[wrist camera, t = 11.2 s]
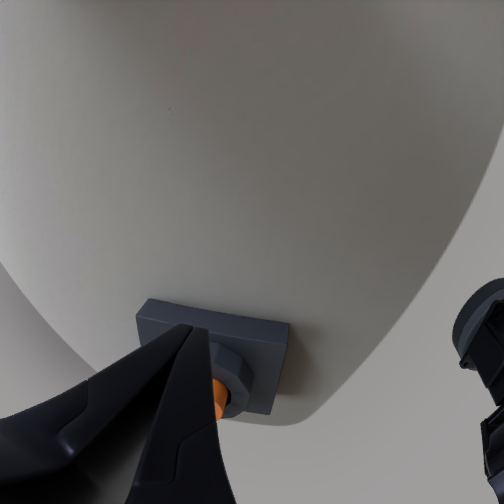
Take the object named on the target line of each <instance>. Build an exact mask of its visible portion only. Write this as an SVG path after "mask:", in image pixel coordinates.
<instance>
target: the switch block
mask: <svg viewBox="0 0 504 504" xmlns="http://www.w3.org/2000/svg"><path fill="white" fill-rule="evenodd" d="M136 322H137V328H138V334H139V339H140V344H141V346H143V345H144V344H146V343H148V342H149V341H151V340H153V339H154V338H156V337H157V336H159V335H161V334H162V333H164V332H165V331H167V330H169V329H170V328H172V327H173V326H175V325H177V324H178V323H186V324H190V325H193V326H194V327H195V326H200V327H204V328H208V329H209V338H210V353H211V366H212V377H214V378H216V379H218V380H219V381H221V382H223V384H224V385H225V386H226V388H227V391H228V397H227V400H226V404H225V408H224V412H223V415H222V417H221V418H220V419H222V418H232V417H235V416H237V415H238V414H240V413H241V412H243V411H246V412H252V413H259V414H266V415H270V413H271V409H272V405H273V402H274V398H275V394H276V390H277V386H278V382H279V378H280V374H281V370H282V366H283V362H284V358H285V354H286V350H287V345H288V331H289V324H288V323H281V322H274V321H268V320H261V319H255V318H248V317H242V316H236V315H230V314H225V313H219V312H213V311H208V310H203V309H197V308H192V307H187V306H182V305H177V304H172V303H167V302H163V301H158V300H153V299H148V300H147V301H146V302H145V304H144V305H143V306H142V308H141V309H140V310H139V312H138V313H137V314H136Z"/></svg>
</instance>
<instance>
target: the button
mask: <svg viewBox="0 0 504 504" xmlns="http://www.w3.org/2000/svg"><path fill="white" fill-rule="evenodd" d="M212 379H213V390H214V401H215V412H216V421H217V420H219V419H220V418H221V417H222V415H223V412H224V408H225V404H226V400H227V397H228V391H227V388H226V386H225V385H224V384H223V382H221V381H219V380H218V379H216V378H214V377H212Z"/></svg>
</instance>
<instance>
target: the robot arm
mask: <svg viewBox="0 0 504 504" xmlns="http://www.w3.org/2000/svg"><path fill="white" fill-rule="evenodd" d="M459 365H460V367H461V368H463V369H467V368H476V369H477V371H478V373H479V375H480V377H481V379H482V381H483V383H484V385H485V387H486V388H488V390H489V391H490V394H491V396H492V398H493V400H494V402H495V405H496V406H500V407H499V408H498V409H497V410H496V411H495V412H494V413H493V414H491V415H490V416H489V417H488V418H487V419H485V420H484V421H482V422H481V433H482V443H483V455H484V469H485V474H486V476H487V478H488V479H487V480H488V482H489V484H490V485H491V487H492V488H493V489H494V491H495V494H496V496H497V498H498V502H499V504H504V300H499V299H497V300H494V301H493V302H492V304H491V306H490V308H489V310H488V312H487V314H486V316H485V318H484V320H483V322H482V324H481V326H480V327H479V329H478V331H477V333H476V335H475V337H474V338H473V340H472V342H471V344H470V346H469V347H468V349H467V351H466V352H465V354H464V356H463V357H462V359H461V361H460V362H459ZM0 504H236V501H235V498H234V495H233V492H232V489H231V486H230V483H229V480H228V477H227V474H226V470H225V466H224V463H223V459H222V455H221V450H220V444H219V438H218V430H217V423H216V412H215V401H214V390H213V379H212V366H211V353H210V338H209V329H208V328H204V327H200V326H195V327H194V326H193V325H190V324H186V323H178V324H177V325H175V326H173V327H172V328H170V329H169V330H167V331H165V332H164V333H162V334H161V335H159V336H157V337H156V338H154V339H153V340H151V341H149V342H148V343H146V344H144V345H143V346H141V347H140V348H138V349H136V350H135V351H133V352H131V353H130V354H128V355H126V356H125V357H123V358H121V359H120V360H118V361H117V362H115V363H113V364H112V365H110V366H108V367H107V368H105V369H103V370H102V371H100V372H98V373H97V374H95V375H93V376H92V377H90V378H88V381H87V380H85V381H83V382H81V383H80V384H78V385H76V386H75V387H73V388H71V389H69V390H67V391H66V392H64V393H62V394H60V395H58V396H56V397H53V398H51V399H49V400H47V401H45V402H43V403H40V404H38V405H36V406H33V407H31V408H29V409H26V410H24V411H21V412H19V413H17V414H14V415H12V416H9V417H6V418H2V419H0Z"/></svg>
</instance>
